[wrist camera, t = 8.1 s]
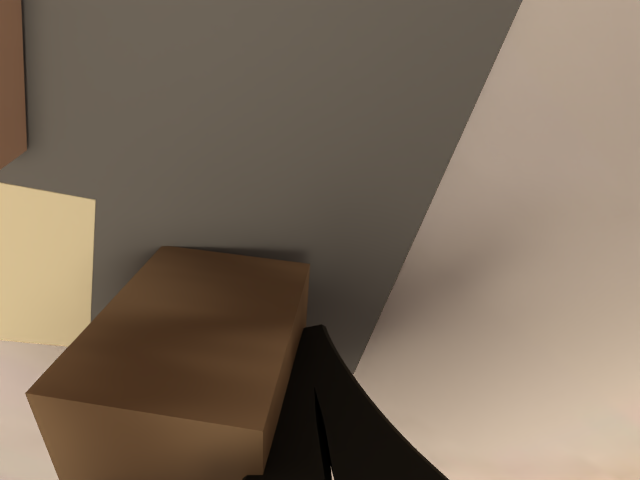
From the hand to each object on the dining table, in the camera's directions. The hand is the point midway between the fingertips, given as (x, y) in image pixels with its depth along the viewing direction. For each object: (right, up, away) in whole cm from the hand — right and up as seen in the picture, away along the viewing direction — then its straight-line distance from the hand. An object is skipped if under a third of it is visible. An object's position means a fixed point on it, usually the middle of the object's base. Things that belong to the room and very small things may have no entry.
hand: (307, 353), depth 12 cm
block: (-2, +1, 0) cm, 2 cm away
